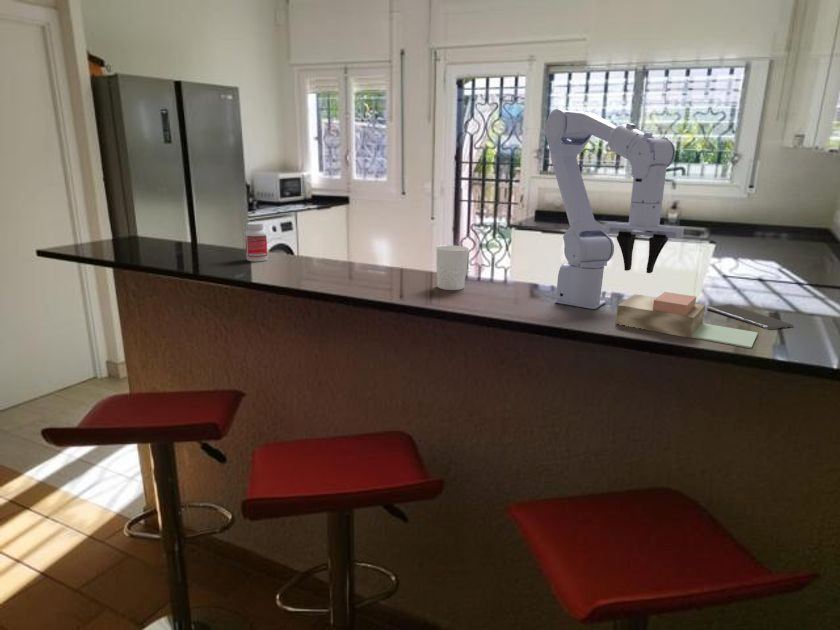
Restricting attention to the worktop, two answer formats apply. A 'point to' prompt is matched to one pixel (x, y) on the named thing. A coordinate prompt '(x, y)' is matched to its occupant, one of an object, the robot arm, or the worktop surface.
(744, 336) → the mat
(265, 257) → the pill bottle
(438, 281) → the white cup
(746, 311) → the smartphone
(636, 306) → the wooden block
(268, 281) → the worktop surface
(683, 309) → the pink rubber eraser
